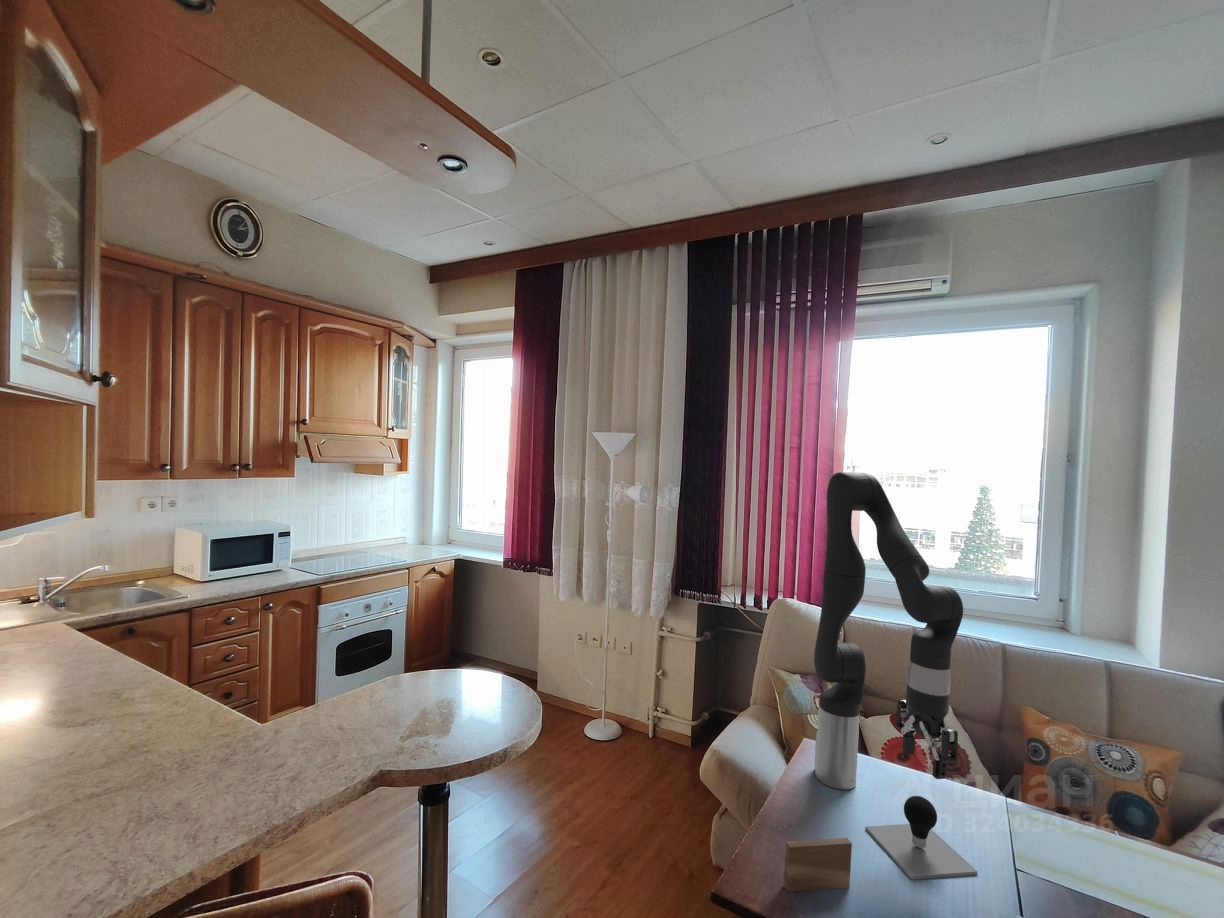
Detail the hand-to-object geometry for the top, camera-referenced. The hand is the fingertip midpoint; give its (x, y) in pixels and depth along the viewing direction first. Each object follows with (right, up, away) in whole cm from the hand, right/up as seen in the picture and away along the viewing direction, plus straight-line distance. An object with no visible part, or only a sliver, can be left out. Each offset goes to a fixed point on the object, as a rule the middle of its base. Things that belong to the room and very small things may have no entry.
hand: (922, 765), depth 111 cm
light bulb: (-1, -17, 0) cm, 17 cm away
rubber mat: (-1, -17, 0) cm, 17 cm away
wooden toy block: (-25, -16, -11) cm, 32 cm away
